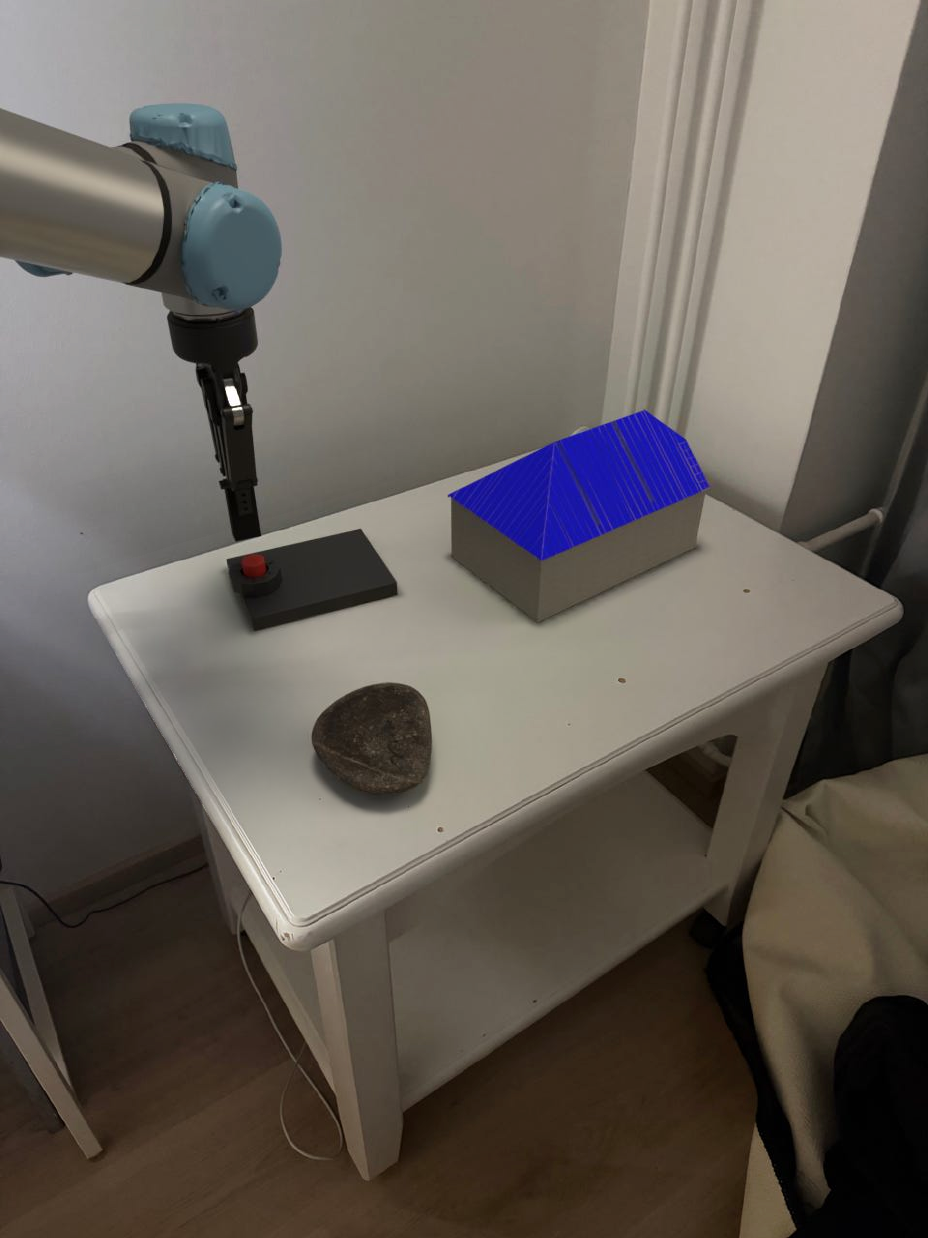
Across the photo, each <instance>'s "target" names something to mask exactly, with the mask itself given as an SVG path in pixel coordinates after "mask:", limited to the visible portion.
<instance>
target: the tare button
mask: <svg viewBox="0 0 928 1238" xmlns="http://www.w3.org/2000/svg"><path fill="white" fill-rule="evenodd" d="M242 568H243V573H244V576H245V577H250V578H255V577H259V576H262V575H264V574H265V573H266V566H265V560H264V557H263V556H261V555H258V554H252V555H248V556H246V557H244V558H243V559H242Z"/></svg>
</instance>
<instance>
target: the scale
mask: <svg viewBox="0 0 928 1238" xmlns="http://www.w3.org/2000/svg"><path fill="white" fill-rule="evenodd" d="M252 554H258V555H261V556H263V557H264V560H265V566H266V573H265V574H264V575H262V576H259V577H255V578H250V577H245V576H244V573H243V568H242V559H243V558H244V557H246V556H248V555H252ZM226 564H227V569H228V576H229V582H230V586H231V588H232V591H233V592H234V593H235V594H237V595H238V597H239V599H240V602H241V603H242V606H243V609H244V611H245V614H246V616H247V618H248V620H249V623H250V625H251V627H252V629H253V630H252V631H254V632H257V631H260V630H265V629H268V628H272V627H277V626H279V625H284V624H288V623H292V622H296V621H300V620H304V619H308V618H311V617H315V616H319V615H323V614H327V613H331V612H335V611H338V610H342V609H346V608H350V607H354V606H358V605H362V604H366V603H370V602H374V601H377V600H381V599H386V598H389V597H393V596H396V595H398V582H397V580H396V578H395V577H394V575H393V573H392V572H391V571H390V569H389V568H388V567H387V565H386V563H385V562H384V561H383V559H382V558H381V556H380V554H379V553H378V552H377V550H376V549H375V547H374V545H373V544H372V543H371V541H370V540H369V539H368V536H366V534H365V532H364V531H363V529H362V528H357V529H352V530H347V531H343V532H340V533H335V534H331V535H326V536H322V537H319V538H313V539H309V540H305V541H299V542H296V543H291V544H287V545H281V546H277V547H273V548H268V549H265V550H261V551H256V552H252V553H247V554H243V555H237V556H234V557H229V558H226Z"/></svg>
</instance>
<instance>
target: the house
mask: <svg viewBox="0 0 928 1238" xmlns="http://www.w3.org/2000/svg"><path fill="white" fill-rule="evenodd" d="M707 490H711V486H710V483H709V482H708V480H707V478H706V475H705V474H704V472H703V470H702V468H701V466H700V464H699V462H698V460H697V458H696V456H695V453H694V451H693V450H692V448H691V446H690V444H689V442H688V440H687V439H686V438H685V437H683V436H682V435H681V434H679V433H678V432H676V430H674V429H673V428H671V427H669V426H668V425H667V424H666V423H664V422H663V421H661V420H660V419H658V418H657V417H656V416H654V415H653V414H652V413H650V412H649V411H648V410H646V409H645V408H643V410H640V411H637V412H634V413H632V414H628V415H626V416H624V417H620V418H617V419H614V420H612V421H608V422H607V423H603V424H601V425H598V426H595V427H592V428H589V429H587V430H584V431H581V432H577V433H575V434H572V435H569V436H567V437H565V438H561V439H559V440H556V441H553V442H551V443H549V444H547V445H545V446H543V447H541V448H539V449H537V450H535V451H533V452H531V453H528V454H527V455H525V456H523V457H521V458H519V459H517V460H515V461H513V462H511V463H509V464H507V465H505V466H503V467H501V468H498V469H497V470H495V471H493V472H490V473H488V474H487V475H485V476H483V477H481V478H479V479H476V480H474V481H473V482H470V483H469V484H467V485H465V486H462V487H461V488H458V489H456V490H454V491H453V492H450V493H448V494H447V498H450V514H451V515H450V519H451V520H450V527H451V528H450V532H451V533H450V535H451V539H450V541H451V544H450V545H451V548H450V550H451V551H450V552H451V555H450V556H451V557H452V558H453V559H454V560H455V561H457V562H458V563H459V564H461V565H462V566H463V567H465V568H466V569H467V570H469V571H470V572H471V573H472V574H474V576H476V577H477V578H479V579H480V580H481V581H483V582H484V583H485V584H487V585H488V586H489V587H490V588H492V589H493V590H494V591H496V592H497V593H498V594H499V595H501V596H502V597H503V598H505V599H506V600H508V602H510V603H511V604H512V605H514V606H515V607H516V608H518V609H519V610H520V611H521V612H523V613H524V614H525V615H527V616H528V617H529V618H531V619H532V620H533V621H534V622H535V623H540V622H542V621H543V620H546V619H548V618H550V617H552V616H555V615H556V614H558V613H561V612H563V611H565V610H567V609H569V608H571V607H574V606H575V605H577V604H580V603H581V602H583V601H586V600H588V599H590V598H592V597H594V596H596V595H599V594H600V593H602V592H605V591H607V590H609V589H611V588H613V587H615V586H617V585H620V584H621V583H622V584H623V582H626V581H628V580H630V579H632V578H634V577H636V576H638V575H640V574H643V573H644V572H646V571H648V570H652V569H653V568H655V567H657V566H659V565H661V564H663V563H666V562H668V561H670V560H671V559H674V558H676V557H678V556H680V555H682V554H684V553H686V552H688V551H691V550H693V549H695V548H696V545H697V543H696V542H697V538H698V533H699V529H700V523H701V520H702V519H701V518H702V514H703V509H704V508H703V507H704V504H705V498H706V492H707Z"/></svg>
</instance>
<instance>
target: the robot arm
mask: <svg viewBox="0 0 928 1238" xmlns="http://www.w3.org/2000/svg"><path fill="white" fill-rule="evenodd" d="M128 118H129V119H128V120H129V121H128V123H129V131H130V133H129V140H130V141H127V142H126V143H122V144H121V145H117V146H108V145H105V144H102V143H99V142H96V141H94V140H91V139H88V138H85V137H83V136H80V135H77V134H74V133H71V132H68V131H66V130H63V129H60V128H57V127H54V126H51V125H49V124H46V123H43V122H41V121H37V120H35V119H32V118H29V117H26V116H23V115H20V114H17V113H15V112H12V111H9V110H7V109H3V108H1V107H0V258H3V259H7V260H13V261H14V262H15V263H16V264H17V265H18V266H20V268H21V269H23V270H24V271H25V272H27V273H28V274H30V275H33V276H35V277H37V278H49V277H54V276H61V275H66V276H72V275H73V274H76V275H83V276H87V277H91V278H92V277H93V278H96V279H101V280H106V281H110V282H115V283H120V284H124V285H125V286H129V287H134V288H139V289H144V290H148V291H154V292H158V293H161V298H162V302H163V303H162V304H163V306H164V307H165V309H167V310H169V312H168V313H167V315H166V320H167V326H168V331H169V336H170V341H171V346H172V350H173V352H174V354H175V355H176V357H178V358H179V359H181V360H182V361H185V362H188V363H190V364H191V363H193V364H195V369H194V371H195V376H196V377H195V378H196V381H197V384H198V386H199V388H200V389H201V394H202V401H203V405H204V406H203V407H204V408H205V411H206V414H207V419H208V425H209V429H210V435H211V439H212V444H213V448H214V449H213V450H214V453H215V454H214V458H215V460H216V462H217V463H218V464H219V472H220V474H221V475H222V477H225V478H222V479H221V480H218V484H219V487H220V490H221V491H222V490H224V494H225V501H226V506H227V507H226V508H227V510H228V511H227V512H228V518H229V524H230V531H231V535H232V537H233V540H234V542H240V541H245V540H250V539H256V538H260V537H262V532H261V531H262V530H261V525H260V518H259V517H260V516H259V511H258V510H259V509H258V505H257V504H258V503H257V498H256V492H255V487H257V486H258V483H259V479H258V476H257V464H256V454H255V453H256V452H255V444H254V443H255V442H254V433H253V432H254V431H253V414H254V409H253V407H252V405H251V404H250V403H248V398H247V394H248V392H249V386H248V379H247V375H246V373H245V372H241V368H240V364H239V362H240V361H241V360H242V359H244V358H247V357H249V356H251V355H252V354H253V353H254V352H256V350H257V348H258V346H259V339H258V338H259V337H258V330H257V324H256V316H255V315H256V314H255V310H254V308H253V306H256V305H257V304H259V303H260V302H261V301H262V300H263V299H265V298H266V297H267V295H269V293H270V291H271V290H272V289H273V286H274V285H275V283H276V281H277V279H278V276H279V268H280V266H281V259H282V254H283V242H282V236H281V232H280V227H279V225H278V222H277V219H276V218H275V216H274V213H273V212H272V211H271V209H270V208H269V207H268V206H267V205H266V203H265V202H264V201H263V200H262V199H261V198H260V197H259V196H257V195H255V194H253V193H251V192H250V191H246V190H243V189H240V188H239V183H238V174H237V172H238V166H237V164H236V160H235V155H234V149H233V145H232V140H231V139H232V138H231V134H230V131H229V130H230V129H229V125H228V122H227V120H226V118H225V116H224V114H223V113H222V112H221V111H220V110H219V109H217V108H216V107H213V106H210V105H206V104H199V103H189V102H188V103H185V102H182V103H181V102H176V103H175V102H174V103H173V102H171V103H157V104H148V105H145V106H142V107H138V108H135V109H134V110H133V111H131V113H130V114H129V117H128Z"/></svg>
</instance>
